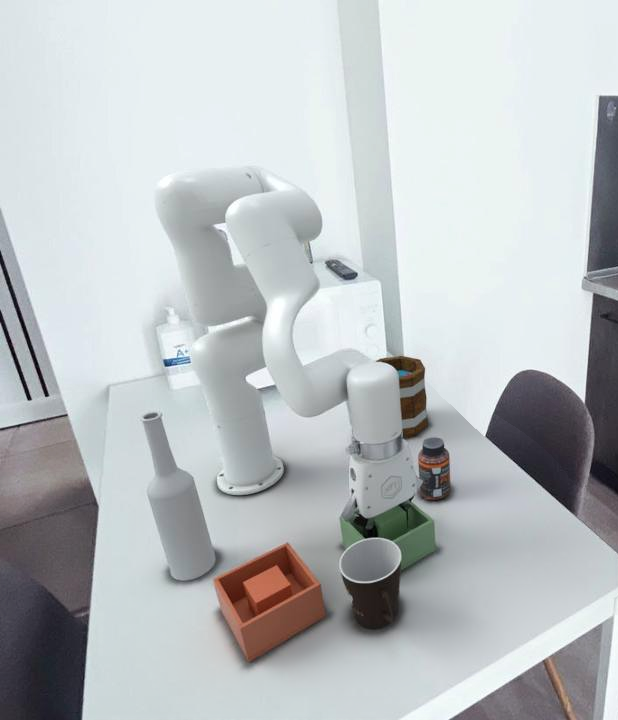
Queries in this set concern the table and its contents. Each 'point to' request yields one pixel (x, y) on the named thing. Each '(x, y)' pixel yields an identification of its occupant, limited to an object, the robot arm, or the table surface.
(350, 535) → the sage bin
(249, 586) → the terracotta block
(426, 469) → the supplement bottle
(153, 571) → the table surface
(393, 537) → the sage block
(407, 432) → the mug
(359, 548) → the coffee mug
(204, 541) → the bottle
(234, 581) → the terracotta bin
